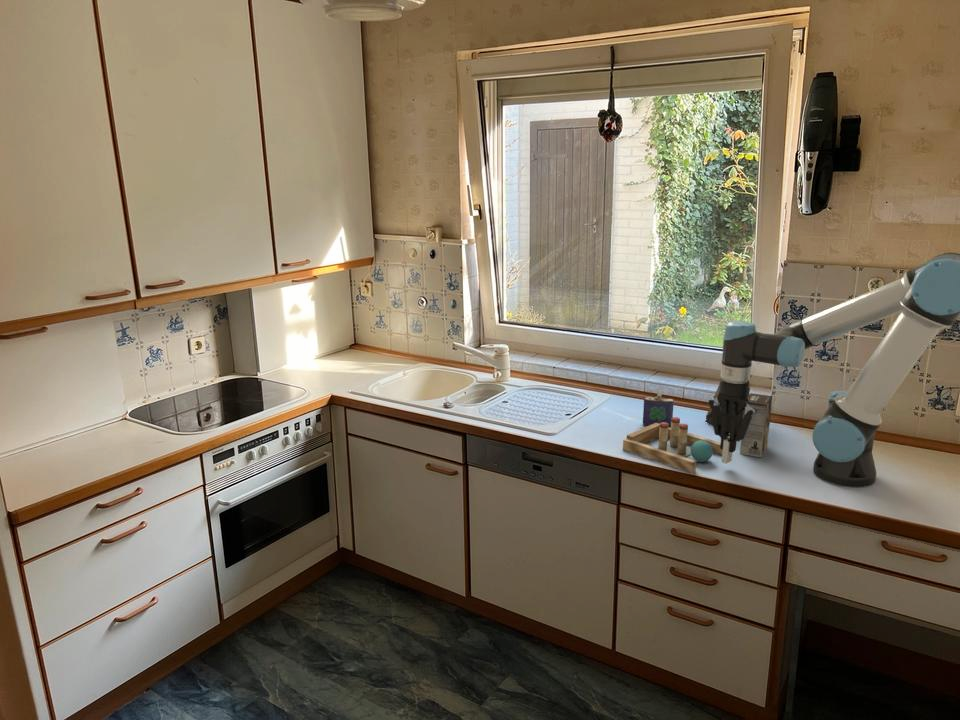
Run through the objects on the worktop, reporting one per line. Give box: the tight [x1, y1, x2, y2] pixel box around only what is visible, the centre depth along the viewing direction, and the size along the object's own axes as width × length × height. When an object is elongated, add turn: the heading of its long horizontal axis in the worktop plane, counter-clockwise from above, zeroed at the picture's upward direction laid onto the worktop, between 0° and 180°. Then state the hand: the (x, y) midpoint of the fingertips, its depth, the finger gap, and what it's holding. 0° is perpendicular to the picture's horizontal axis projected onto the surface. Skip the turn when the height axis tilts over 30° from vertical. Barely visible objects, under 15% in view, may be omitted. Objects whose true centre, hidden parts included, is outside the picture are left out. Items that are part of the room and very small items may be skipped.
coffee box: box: [739, 392, 773, 458], centre depth 211 cm, size 9×6×16 cm
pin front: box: [677, 423, 689, 455], centre depth 210 cm, size 2×2×9 cm
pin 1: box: [657, 422, 669, 451], centre depth 211 cm, size 2×2×9 cm
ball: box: [690, 440, 714, 463], centre depth 205 cm, size 6×6×6 cm
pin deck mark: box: [667, 442, 692, 458], centre depth 213 cm, size 9×12×1 cm
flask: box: [642, 393, 675, 428], centre depth 232 cm, size 9×3×11 cm, turn 78°
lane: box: [622, 423, 723, 474], centre depth 212 cm, size 23×18×4 cm
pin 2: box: [669, 416, 681, 448], centre depth 215 cm, size 2×2×9 cm
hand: (726, 461), depth 200 cm, fingers closed
